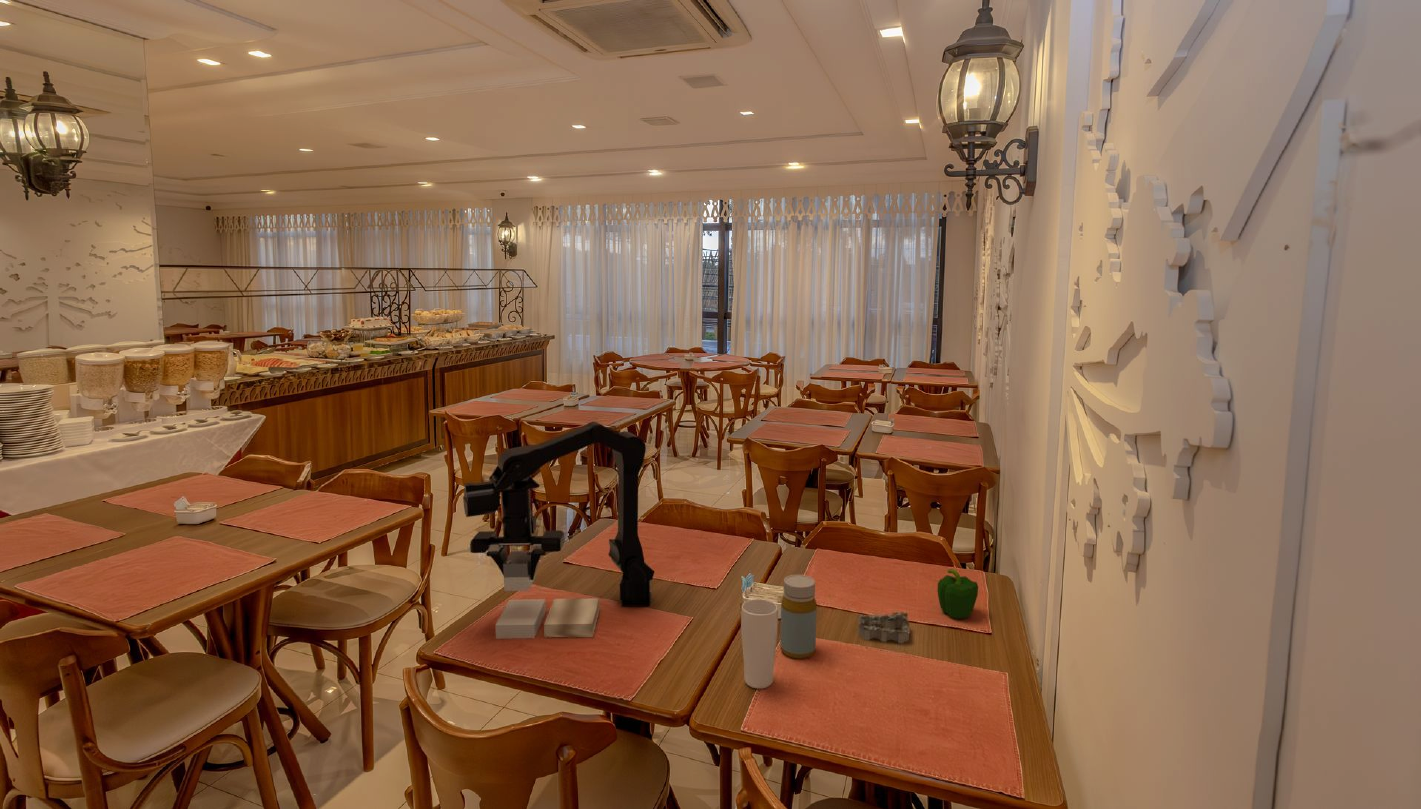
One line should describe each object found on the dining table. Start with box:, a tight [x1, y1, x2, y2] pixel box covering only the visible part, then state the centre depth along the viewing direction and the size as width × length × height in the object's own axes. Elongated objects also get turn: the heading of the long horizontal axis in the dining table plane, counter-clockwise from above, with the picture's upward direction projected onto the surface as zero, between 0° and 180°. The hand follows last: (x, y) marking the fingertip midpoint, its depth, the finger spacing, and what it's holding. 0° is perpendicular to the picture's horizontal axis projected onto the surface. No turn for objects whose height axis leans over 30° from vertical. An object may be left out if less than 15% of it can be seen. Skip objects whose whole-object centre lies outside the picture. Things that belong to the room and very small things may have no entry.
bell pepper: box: [937, 568, 979, 620], centre depth 160 cm, size 8×8×10 cm
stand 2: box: [543, 597, 600, 639], centre depth 156 cm, size 10×12×3 cm
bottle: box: [780, 574, 818, 660], centre depth 144 cm, size 7×7×15 cm
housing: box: [503, 549, 536, 592], centre depth 154 cm, size 5×7×6 cm
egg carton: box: [857, 611, 911, 644], centre depth 152 cm, size 11×8×4 cm
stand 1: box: [495, 598, 547, 640], centre depth 156 cm, size 8×12×3 cm, turn 2°
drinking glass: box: [740, 598, 779, 689], centre depth 133 cm, size 7×7×15 cm
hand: (520, 579), depth 154 cm, fingers closed on housing, 5 cm apart
